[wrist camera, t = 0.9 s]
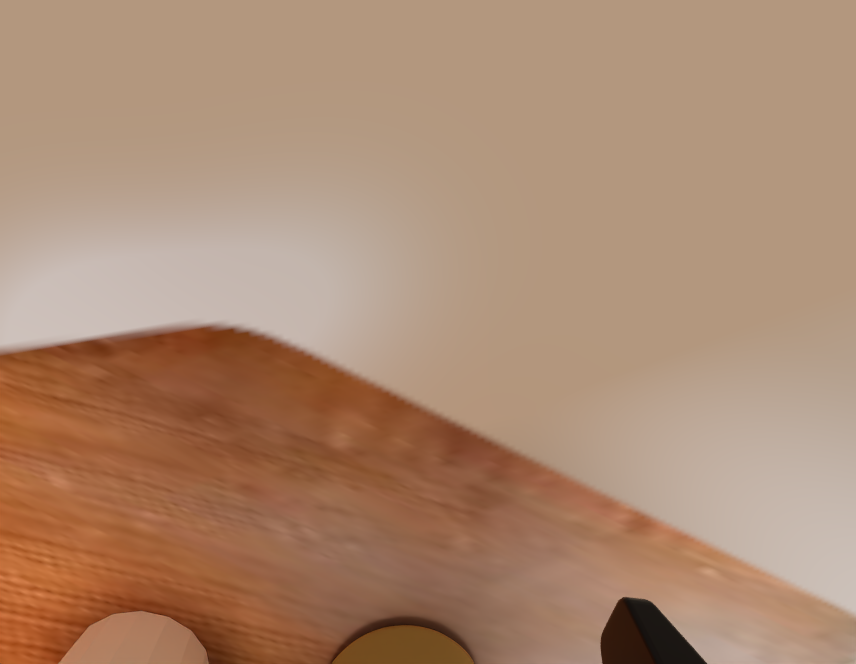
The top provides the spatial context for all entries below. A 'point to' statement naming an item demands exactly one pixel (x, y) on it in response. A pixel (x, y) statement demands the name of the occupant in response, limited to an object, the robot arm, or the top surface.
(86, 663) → the white tapered cylinder
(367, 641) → the paper tube
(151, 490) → the top surface
